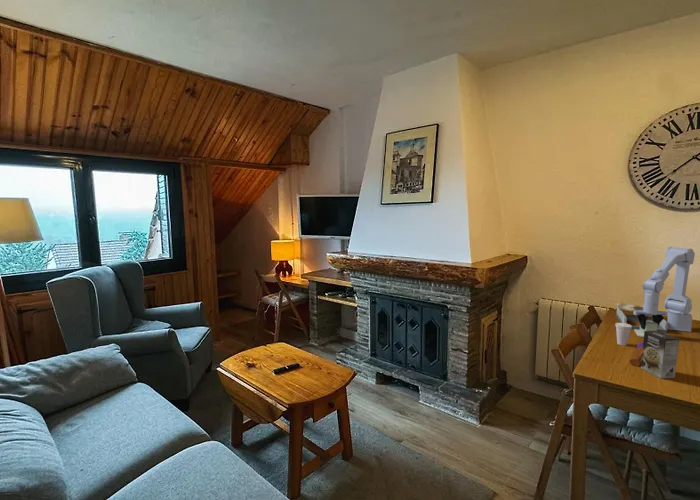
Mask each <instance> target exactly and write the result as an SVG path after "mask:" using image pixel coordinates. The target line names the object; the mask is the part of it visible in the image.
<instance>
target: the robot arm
mask: <svg viewBox="0 0 700 500" xmlns="http://www.w3.org/2000/svg"><path fill="white" fill-rule="evenodd" d="M694 261H695V250H694V249H693V248H686V247H685V248H684V247H674V246H669V247H668V248H666V250H665V259H664V261H663V263H662V265H661V266H660V268H656V269H655V270H654V272H653V273H652V274H651V275H650V277H649V278H648V279H645V280H644V281H643V282H642V289H643V294H644V298H643V306H644V308H643V310H634V311H632V312H633V314H632V315H636V316H637V317H638V319H639V322H638V323H639V326H641V328H642V329H645V326H646V321H647V318H648V317H646V316H651V317H653V322H655V323H657V324H658V326H659V324H660V322H661V321H662V320H663V319H664V320H665V317H667V319H666V322H667V323H668V326H667V330H673V331H680V332H688V333H691V332H692V326H693V325H692V324H693V316H692V314H691V312H692V310H693V305H692V299H691V298H689V297H688V296H687V295H686V293H687V286H688V279H689V274H690V273H689V272H690V268H691V267H690V265H693V264H694ZM675 265H676V267H675V273H674V274H675V275H674V282H673V289H672V293H671V294H668V295H667V296H666V298H665V301H664V304H663V306H664V308H665V310H666V311H665V310H664V311H663V310H659V303H660V293H661V292H662V291H663V290H664V285H665V281H667V279H668V277H669V276H670V271H671V270H672V268H673V267H674V266H675ZM658 326H657V328H658Z"/></svg>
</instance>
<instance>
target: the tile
mask: <svg viewBox="0 0 700 500" xmlns="http://www.w3.org/2000/svg"><path fill="white" fill-rule="evenodd" d="M633 331H634V333H635V334H636V335H637V336H638V337H641V338H644V332H643V331H641V330H637V329H633Z"/></svg>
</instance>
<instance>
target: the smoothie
mask: <svg viewBox="0 0 700 500" xmlns="http://www.w3.org/2000/svg"><path fill="white" fill-rule="evenodd" d="M624 319H625V316H623V323H621V322H616V323H615V324H614V325H615V328H616V329H615V331H616V344H617V345H620V346H624V347H626V346H627V345H628V342H629V338H630V335H631V330H633V329H632V326H631V325H632V324H630V323H629V324H628V323H627V324H626V323H624Z"/></svg>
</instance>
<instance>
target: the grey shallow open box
mask: <svg viewBox="0 0 700 500" xmlns="http://www.w3.org/2000/svg"><path fill="white" fill-rule="evenodd" d="M615 316H616V317H617V319H618V320H619V323H623V316H625V319H624V323H626V324H628V321H629V322H636V323H640V322H639V319H638V317H637V316H636V315H634V314H629V313H624V311H623V310H620V309H619V307H618V306H616V313H615ZM645 316H646V317H648V318H647V321H653V317H652V316H651V315H645ZM630 325H631V326H632V329H631V330H634V329H637V330H640V325H633V324H630ZM667 326H668V323H667V320H666V319H665V318H664V319H663V320H662V321H661V322H660V324H659V326H658V328H657V331H660V332H663V333H666V334H668V329H667Z"/></svg>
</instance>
